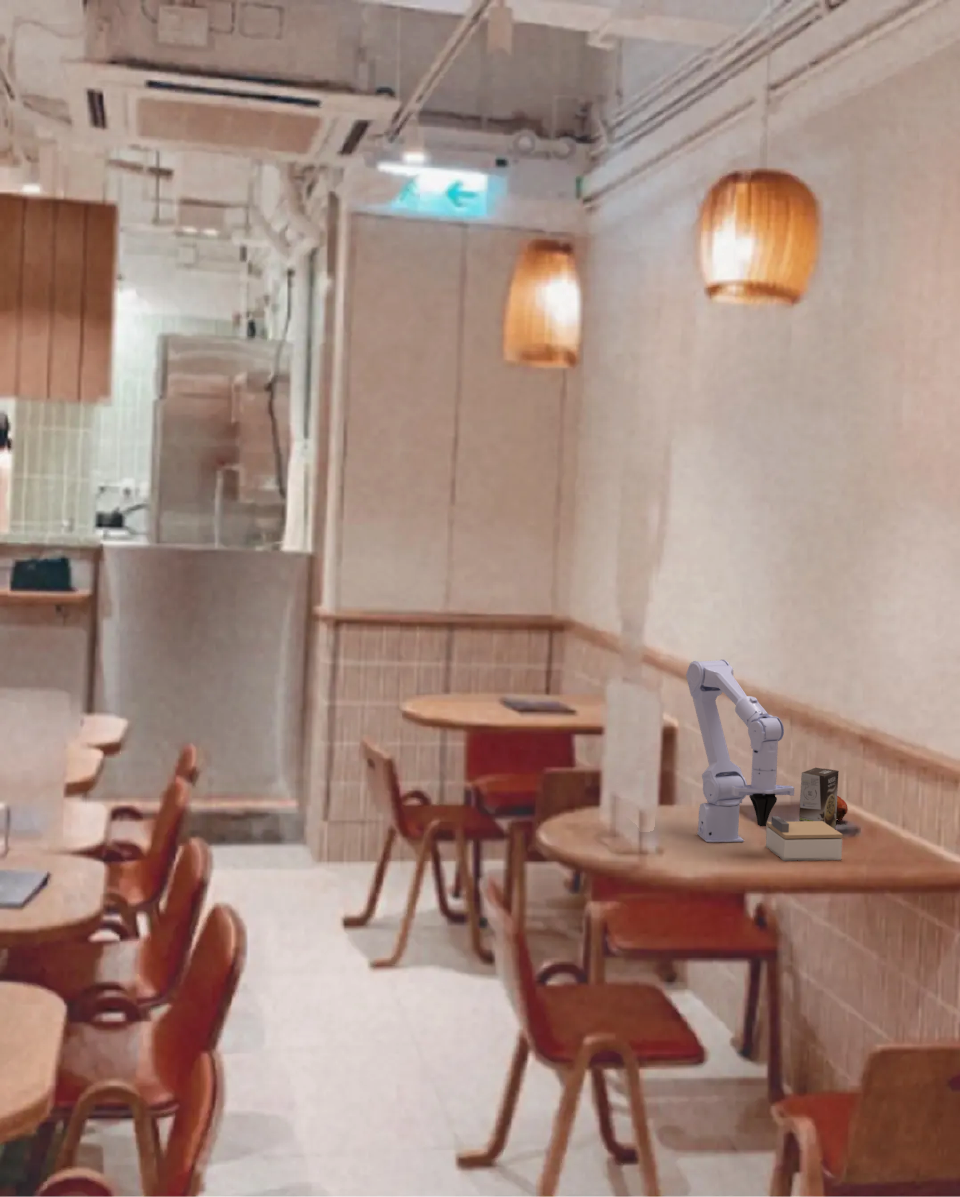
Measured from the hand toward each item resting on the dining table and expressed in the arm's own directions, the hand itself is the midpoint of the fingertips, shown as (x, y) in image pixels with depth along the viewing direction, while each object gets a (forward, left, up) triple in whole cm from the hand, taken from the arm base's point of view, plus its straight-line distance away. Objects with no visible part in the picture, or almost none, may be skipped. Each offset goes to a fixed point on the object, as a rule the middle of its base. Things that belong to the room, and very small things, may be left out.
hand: (761, 825), depth 322 cm
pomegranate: (+30, +28, -7) cm, 41 cm away
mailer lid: (+10, 0, -2) cm, 11 cm away
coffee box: (+20, +16, -7) cm, 27 cm away
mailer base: (+10, 0, -7) cm, 13 cm away
